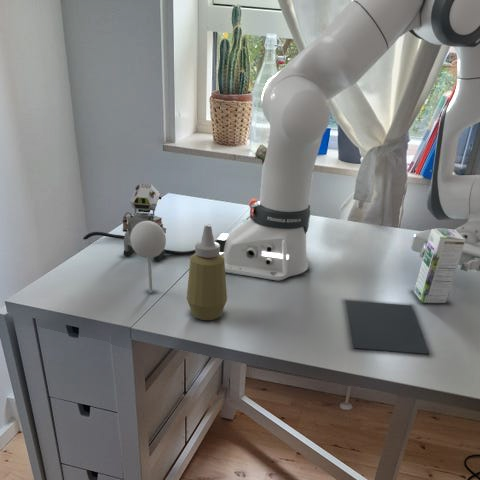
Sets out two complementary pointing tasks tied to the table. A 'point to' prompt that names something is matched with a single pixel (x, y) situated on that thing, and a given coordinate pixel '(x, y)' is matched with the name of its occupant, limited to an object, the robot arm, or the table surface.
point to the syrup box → (439, 265)
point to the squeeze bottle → (207, 279)
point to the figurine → (141, 214)
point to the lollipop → (148, 242)
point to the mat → (385, 327)
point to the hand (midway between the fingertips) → (443, 260)
